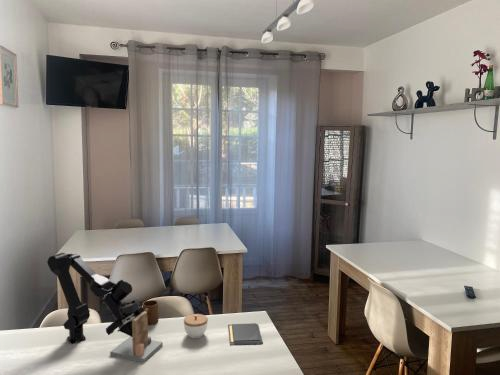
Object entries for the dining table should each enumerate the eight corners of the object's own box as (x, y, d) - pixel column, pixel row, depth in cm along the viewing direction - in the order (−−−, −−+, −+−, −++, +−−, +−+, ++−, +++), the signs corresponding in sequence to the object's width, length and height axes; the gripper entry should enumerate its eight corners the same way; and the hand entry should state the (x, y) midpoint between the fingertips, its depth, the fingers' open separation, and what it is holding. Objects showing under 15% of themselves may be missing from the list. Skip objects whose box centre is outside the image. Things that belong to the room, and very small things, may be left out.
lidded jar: (211, 336, 175) (211, 317, 174) (190, 343, 169) (190, 322, 168) (200, 327, 184) (200, 308, 183) (180, 333, 178) (179, 313, 177)
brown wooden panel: (144, 342, 165) (144, 311, 164) (147, 343, 165) (147, 311, 164) (132, 353, 157) (132, 320, 156) (135, 353, 157) (135, 320, 155)
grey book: (263, 342, 169) (228, 342, 168) (263, 346, 169) (228, 346, 168) (259, 321, 189) (227, 322, 188) (259, 325, 189) (227, 325, 188)
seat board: (110, 355, 159) (110, 342, 158) (131, 339, 172) (130, 327, 172) (143, 362, 154) (143, 349, 153) (162, 345, 167) (162, 333, 167)
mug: (152, 329, 181) (152, 310, 180) (137, 329, 182) (136, 309, 181) (160, 318, 193) (160, 300, 192) (145, 317, 194) (145, 299, 193)
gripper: (112, 303, 152) (135, 336, 149) (141, 288, 169) (162, 317, 167) (95, 319, 155) (118, 351, 152) (125, 302, 172) (146, 331, 170)
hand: (137, 336), depth 160 cm, fingers closed on brown wooden panel
